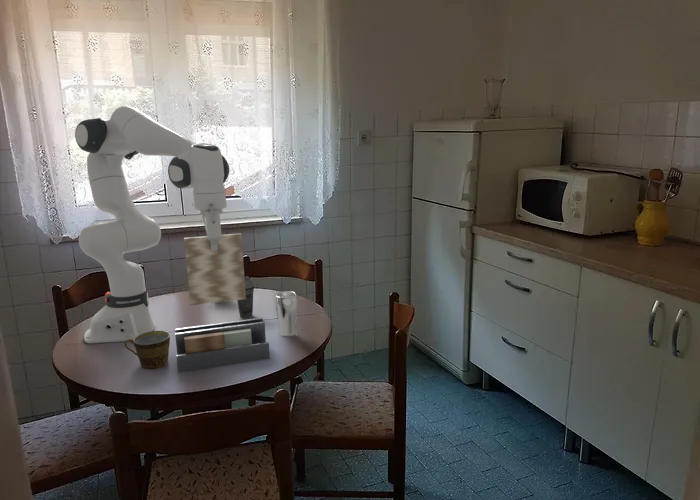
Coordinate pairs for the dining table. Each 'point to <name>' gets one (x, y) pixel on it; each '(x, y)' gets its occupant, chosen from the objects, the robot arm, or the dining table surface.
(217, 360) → the offcut rack
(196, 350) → the walnut offcut
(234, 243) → the beige brown zigzag panel
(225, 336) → the sage offcut
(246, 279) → the beverage cup
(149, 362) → the ceramic cup
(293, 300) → the silver metal cylinder
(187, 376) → the dining table surface
